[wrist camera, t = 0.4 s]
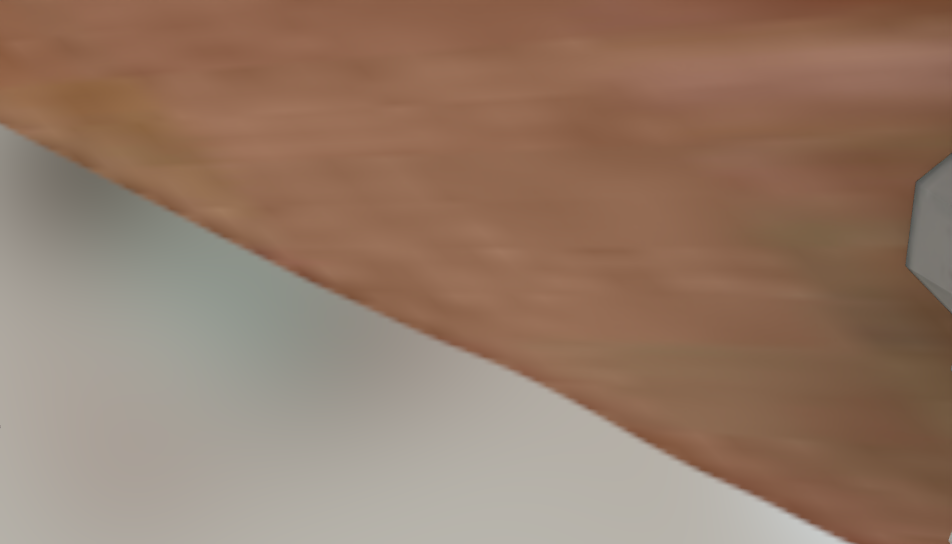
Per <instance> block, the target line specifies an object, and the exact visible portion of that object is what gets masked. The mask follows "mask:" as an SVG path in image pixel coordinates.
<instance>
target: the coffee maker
mask: <svg viewBox="0 0 952 544" xmlns="http://www.w3.org/2000/svg"><path fill="white" fill-rule="evenodd" d="M906 267H907V268H908V269H909V270H910V271H911V272H912V273H913V274H914V275H915V276H916V277H917V278H918V279H919V280H920V281H921V282H922V283H923V285H924V286H925V287H926V288H927V289H928V290H929V291H930V292H931V293H932V294H933V295H934V296H935V297H936V298H937V299H938V300H939V301H940V302H941V303H942V304H943V305H944V306H945V307H946V308H947V309H948V310H949V311H950V312H951V314H952V153H951V154H950V155H949V156H948V157H946V158H945V159H944V160H943V161H941V162H940V163H939V164H938V165H936V166H935V167H934V168H933V169H931V170H930V171H929V172H928V173H926V174H925V175H924V176H923V177H922V178H920V179H919V180H918V181H917V182H916V186H915V194H914V202H913V210H912V218H911V226H910V234H909V242H908V250H907V258H906ZM951 371H952V368H951Z"/></svg>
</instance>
